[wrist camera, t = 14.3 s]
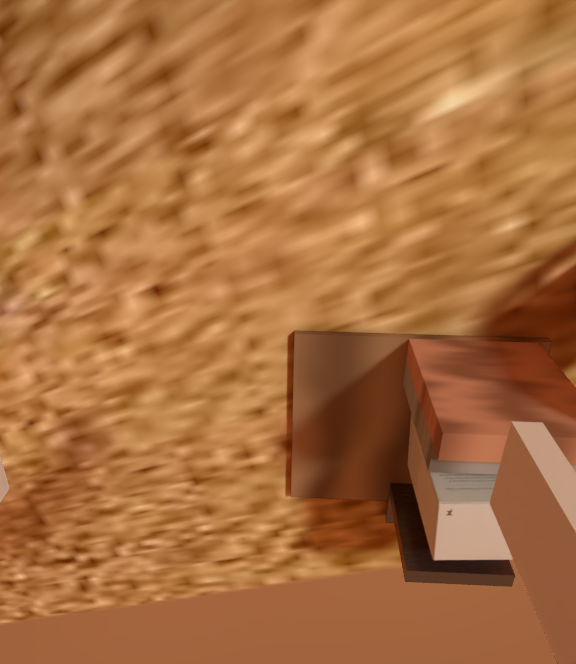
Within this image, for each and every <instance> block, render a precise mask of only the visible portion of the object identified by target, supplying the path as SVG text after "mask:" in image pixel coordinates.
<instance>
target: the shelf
mask: <svg viewBox="0 0 576 664" xmlns="http://www.w3.org/2000/svg"><path fill="white" fill-rule="evenodd" d="M551 343H552V342H551V341H550V339H547V338H515V337H482V336H450V335H417V334H384V333H352V332H319V331H295V332H294V376H293V423H292V471H291V497H303V498H327V499H352V500H377V501H388V497H389V489H390V483H409V484H412V480H411V476H410V472H409V468H408V450H409V436H410V422H411V414H412V417H413V420H414V424H415V427H416V431H417V434H418V438H419V441H420V445H421V448H422V452H423V455H424V459H425V462H426V466H427V469H428V472H446V473H471V474H498V470H499V466H500V462H501V459H502V455H503V451H504V448H505V444H506V440H507V437H508V433H509V429H510V425H511V422H512V421H513V422H543V424H544V425H545V427H546V428H547V430H548V431H549V433H550V434H551V436H552V437H553V439H554V440H555V442H556V443H557V445H558V446H559V448H560V449H561V451H562V453H563V454H564V456H565V457H566V459H567V460H568V462H569V463H570V465H571V466H572V468H573V469H574V471H575V472H576V388H575V386H574V385H573V384H572V383H571V382H570V380H569V379H568V378H567V377H566V375H565V374H564V373H563V372H562V371H561V369H560V368H559V367H558V366H557V365H556V363H555V362H554V361H553V360H552V359H551V357H550V356H549V351H550V347H551Z"/></svg>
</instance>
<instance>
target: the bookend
mask: <svg viewBox="0 0 576 664" xmlns="http://www.w3.org/2000/svg"><path fill="white" fill-rule="evenodd" d="M386 522H387V523H395V529H396V534H397V540H398V545H399V551H400V556H401V562H402V567H403V573H404V578H405V582H423V583H446V584H467V585H489V586H512V584H513V581H514V578H515V574H514V572H513V569H512V567H511V564H510V562H509V560H433V558H432V555H431V552H430V548H429V544H428V541H427V537H426V533H425V529H424V525H423V521H422V518H421V514H420V510H419V506H418V503H417V499H416V495H415V491H414V488H413V484H409V483H390V489H389V497H388V505H387V512H386Z"/></svg>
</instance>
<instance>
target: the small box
mask: <svg viewBox="0 0 576 664" xmlns="http://www.w3.org/2000/svg"><path fill="white" fill-rule="evenodd" d="M408 468H409V472H410V476H411V480H412V484H413V488H414V491H415V495H416V499H417V503H418V506H419V510H420V514H421V518H422V521H423V525H424V529H425V533H426V537H427V541H428V544H429V548H430V552H431V555H432V558H433V560H513V558H512V555H511V553H510V550H509V548H508V546H507V543H506V541H505V539H504V536H503V534H502V532H501V529H500V527H499V525H498V522H497V520H496V517H495V515H494V513H493V510H492V508H491V506H490V499H491V496H492V492H493V488H494V485H495V481H496V477H497V474H471V473H446V472H428V469H427V466H426V462H425V459H424V455H423V452H422V448H421V445H420V441H419V438H418V434H417V431H416V427H415V424H414V420H413V417H412V414H411V422H410V436H409V450H408Z"/></svg>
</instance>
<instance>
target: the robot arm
mask: <svg viewBox="0 0 576 664" xmlns="http://www.w3.org/2000/svg"><path fill="white" fill-rule="evenodd" d="M9 488H10V487H9V484H8V481H7V477H6V474H5V471H4V467H3V464H2V461H1V457H0V502H1V500H2V499H3V497H4V496H5V494H6V493H7V491H8V490H9ZM490 506H491V508H492V510H493V513H494V515H495V517H496V520H497V522H498V525H499V527H500V529H501V532H502V534H503V536H504V539H505V541H506V543H507V546H508V548H509V550H510V553H511V555H512V558H513V560H514V562H515V565H516V567H517V569H518V572H519V574H520V576H521V579H522V581H523V583H524V586H525V588H526V591H527V593H528V595H529V597H530V600H531V602H532V605H533V607H534V610H535V611H536V614H537V617H538V619H539V621H540V624H541V626H542V628H543V631H544V633H545V635H546V638H547V640H548V643H549V645H550V647H551V649H552V652H553V654H554V657H555V659H556V661H557V664H576V472H575V471H574V469H573V468H572V466H571V465H570V463H569V462H568V460H567V459H566V457H565V456H564V454H563V453H562V451H561V449H560V448H559V446H558V445H557V443H556V442H555V440H554V439H553V437H552V436H551V434H550V433H549V431H548V430H547V428H546V427H545V425H544V424H543V422H513V421H512V422H511V425H510V429H509V433H508V437H507V440H506V444H505V448H504V451H503V455H502V459H501V462H500V466H499V470H498V474H497V477H496V481H495V485H494V488H493V492H492V496H491V499H490Z"/></svg>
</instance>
